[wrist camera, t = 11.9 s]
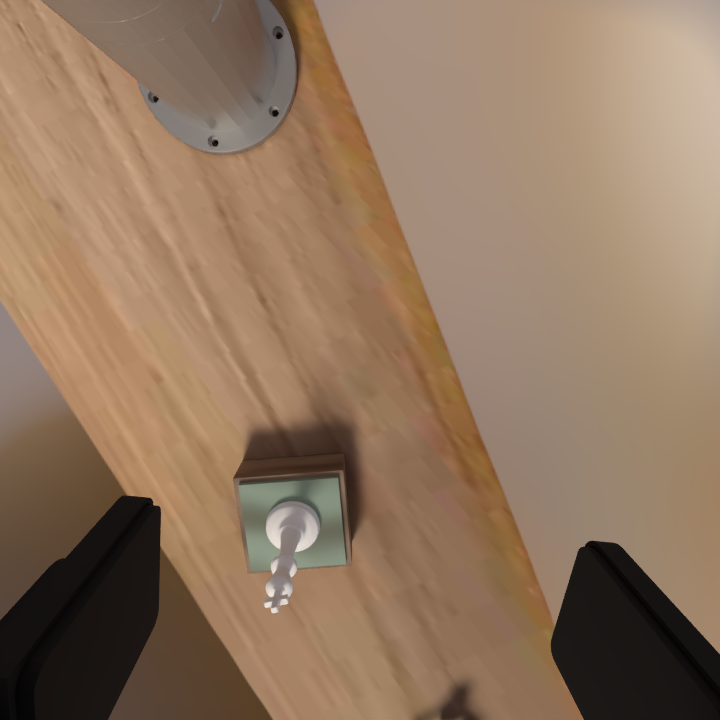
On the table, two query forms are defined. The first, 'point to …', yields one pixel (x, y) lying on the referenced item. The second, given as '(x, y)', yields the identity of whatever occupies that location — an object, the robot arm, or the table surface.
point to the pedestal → (303, 484)
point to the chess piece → (288, 546)
